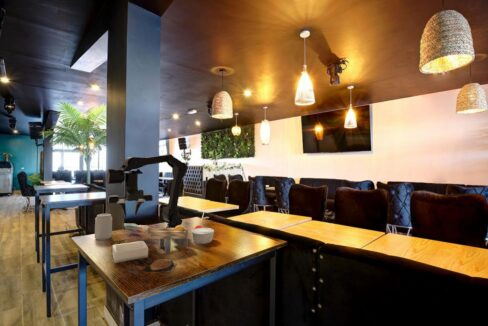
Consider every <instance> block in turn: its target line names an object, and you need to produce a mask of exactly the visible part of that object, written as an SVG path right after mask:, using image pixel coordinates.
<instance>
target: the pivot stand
mask: <svg viewBox="0 0 488 326" xmlns="http://www.w3.org/2000/svg"><path fill="white" fill-rule="evenodd" d="M158 240H159V241H158V243H159V244H158V247H159V248H164V254H165V255H169V254H171V243H172V241H171V240H172V239H171V237H170V236H168V237H165V239H158Z"/></svg>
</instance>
